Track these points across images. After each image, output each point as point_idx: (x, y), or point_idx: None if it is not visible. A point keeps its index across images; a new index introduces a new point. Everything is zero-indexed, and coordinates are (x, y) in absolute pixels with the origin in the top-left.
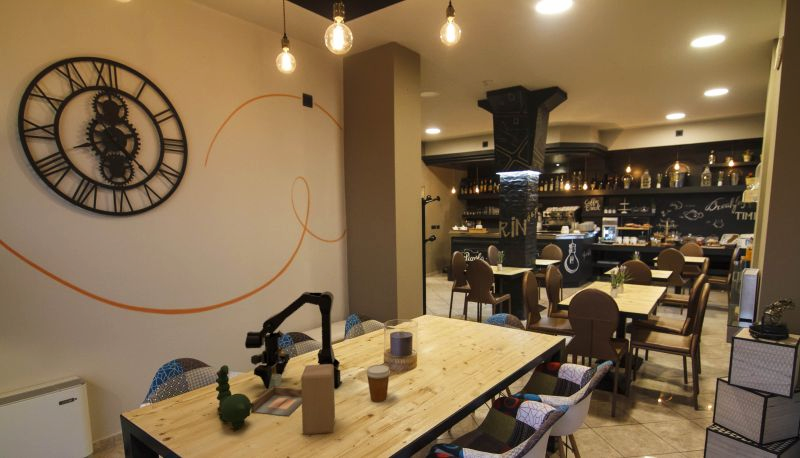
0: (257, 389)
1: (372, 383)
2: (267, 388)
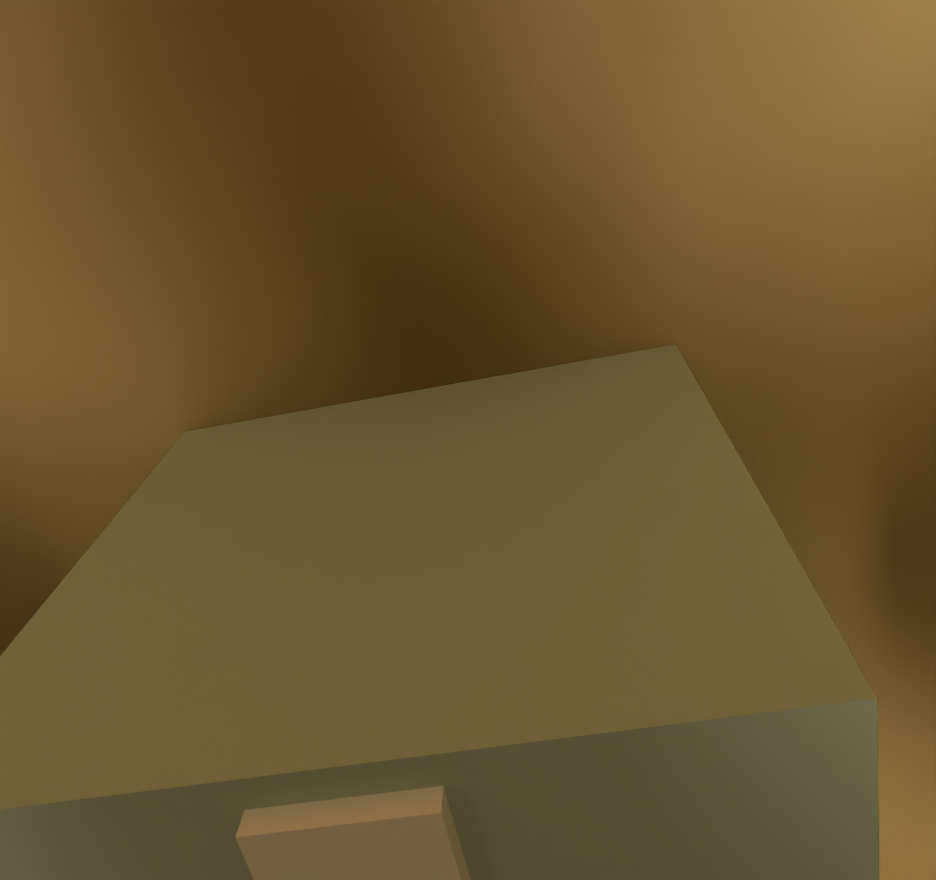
0: (28, 130)
1: None
2: None
